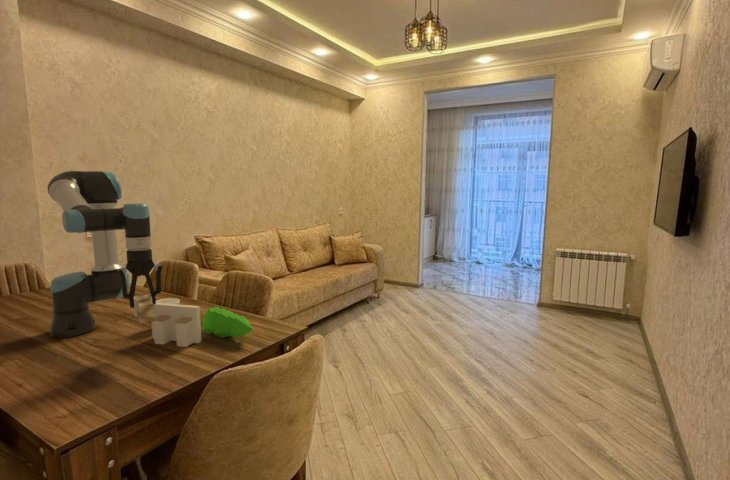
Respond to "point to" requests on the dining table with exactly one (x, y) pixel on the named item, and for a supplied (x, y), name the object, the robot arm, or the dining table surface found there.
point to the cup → (169, 301)
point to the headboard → (176, 324)
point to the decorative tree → (224, 323)
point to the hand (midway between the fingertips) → (143, 314)
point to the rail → (144, 308)
